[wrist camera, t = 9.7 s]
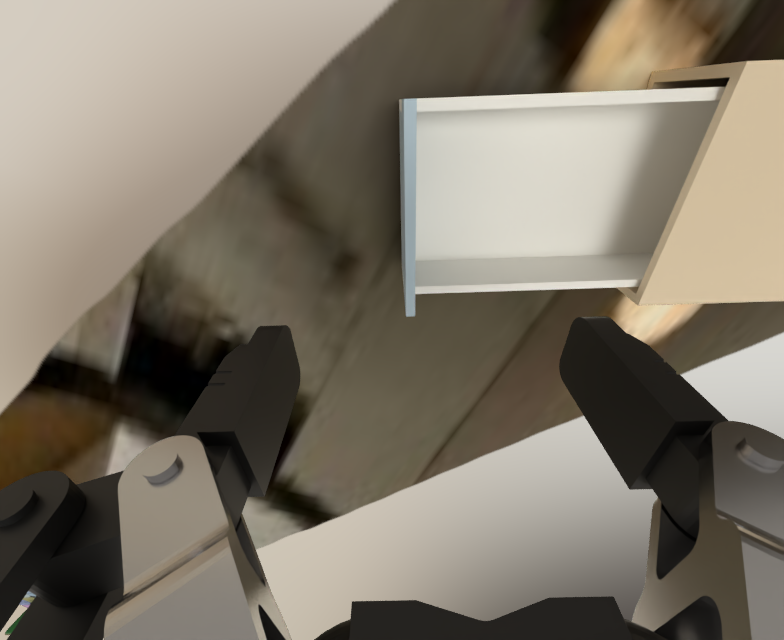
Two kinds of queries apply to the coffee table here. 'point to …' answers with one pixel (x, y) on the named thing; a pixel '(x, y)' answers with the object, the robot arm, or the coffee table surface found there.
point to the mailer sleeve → (726, 195)
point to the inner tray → (542, 186)
